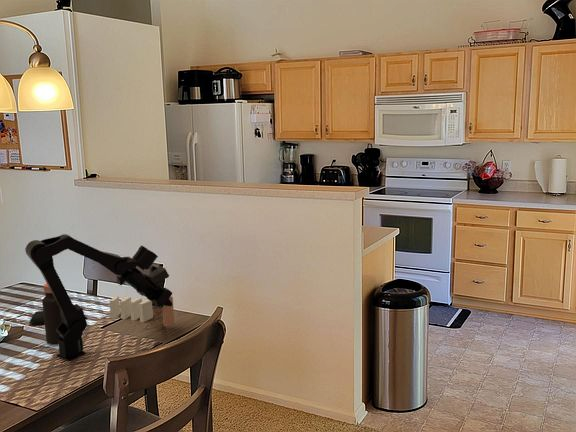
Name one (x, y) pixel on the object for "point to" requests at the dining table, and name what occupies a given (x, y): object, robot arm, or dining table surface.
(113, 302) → the ivory domino
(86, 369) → the dining table surface
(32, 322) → the carrying case or bag
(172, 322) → the terracotta domino
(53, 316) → the bottle
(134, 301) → the ivory domino
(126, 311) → the ivory domino
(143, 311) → the ivory domino
